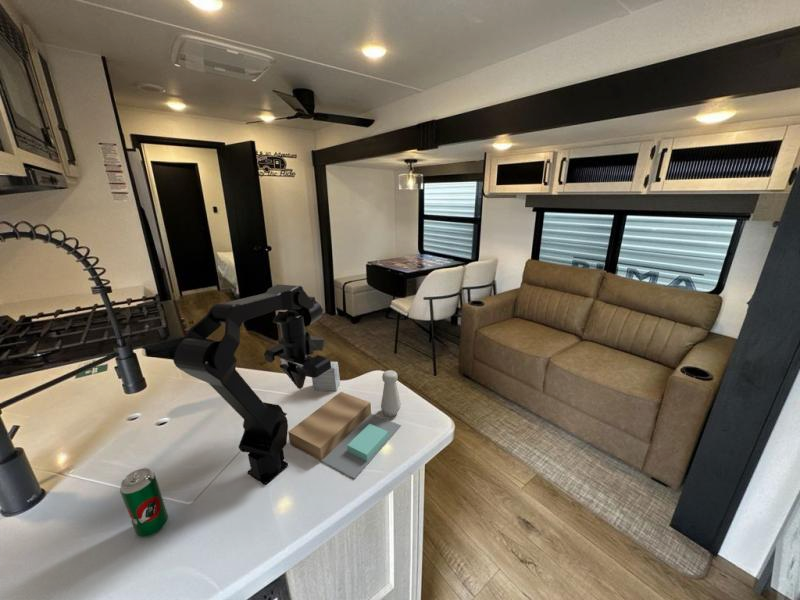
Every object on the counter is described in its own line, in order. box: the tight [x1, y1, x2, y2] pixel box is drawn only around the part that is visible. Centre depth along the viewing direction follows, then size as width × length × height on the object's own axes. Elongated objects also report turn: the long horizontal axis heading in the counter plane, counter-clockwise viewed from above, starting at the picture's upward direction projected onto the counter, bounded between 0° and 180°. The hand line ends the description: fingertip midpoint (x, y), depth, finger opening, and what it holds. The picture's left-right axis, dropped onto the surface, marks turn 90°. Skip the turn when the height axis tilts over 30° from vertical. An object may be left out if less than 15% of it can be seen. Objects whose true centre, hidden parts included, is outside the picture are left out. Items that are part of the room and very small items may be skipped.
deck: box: [287, 391, 372, 463], centre depth 86 cm, size 20×11×4 cm, turn 149°
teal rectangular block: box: [347, 424, 388, 461], centre depth 80 cm, size 9×6×2 cm, turn 148°
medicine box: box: [311, 361, 341, 392], centre depth 104 cm, size 8×4×9 cm, turn 84°
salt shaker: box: [380, 369, 402, 418], centre depth 91 cm, size 6×6×13 cm
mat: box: [321, 413, 402, 480], centre depth 81 cm, size 20×10×1 cm, turn 149°
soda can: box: [119, 467, 169, 538], centre depth 59 cm, size 5×5×12 cm
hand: (300, 387), depth 84 cm, fingers closed
